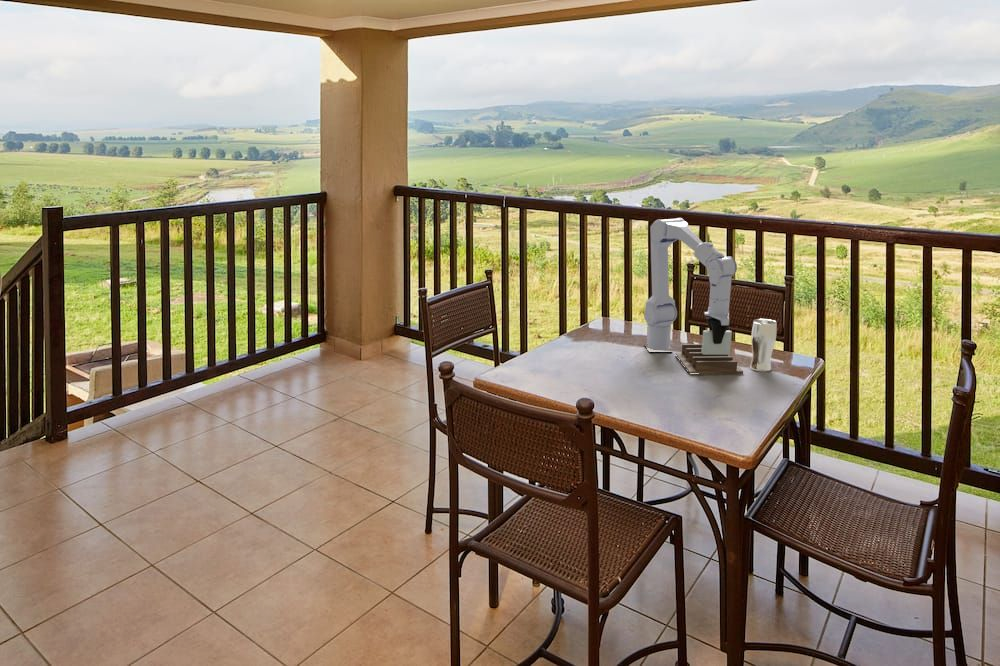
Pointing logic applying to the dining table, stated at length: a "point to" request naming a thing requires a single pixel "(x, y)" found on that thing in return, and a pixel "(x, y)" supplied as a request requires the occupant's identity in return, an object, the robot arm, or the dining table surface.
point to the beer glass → (762, 344)
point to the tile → (718, 349)
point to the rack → (706, 361)
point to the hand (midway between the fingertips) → (716, 342)
